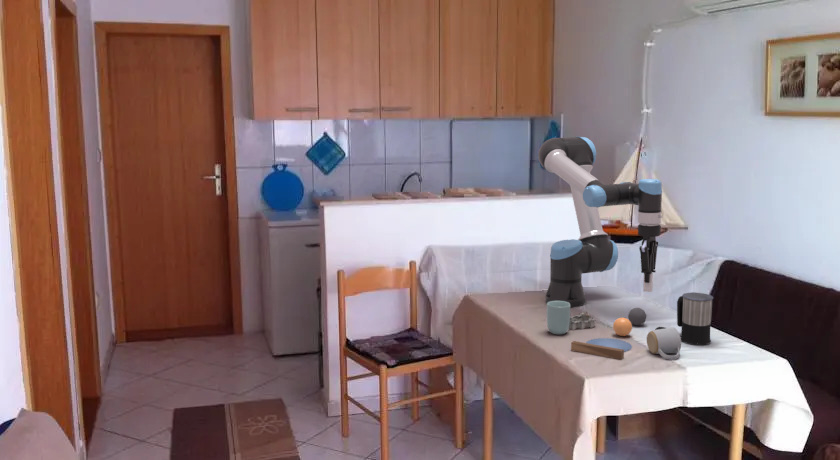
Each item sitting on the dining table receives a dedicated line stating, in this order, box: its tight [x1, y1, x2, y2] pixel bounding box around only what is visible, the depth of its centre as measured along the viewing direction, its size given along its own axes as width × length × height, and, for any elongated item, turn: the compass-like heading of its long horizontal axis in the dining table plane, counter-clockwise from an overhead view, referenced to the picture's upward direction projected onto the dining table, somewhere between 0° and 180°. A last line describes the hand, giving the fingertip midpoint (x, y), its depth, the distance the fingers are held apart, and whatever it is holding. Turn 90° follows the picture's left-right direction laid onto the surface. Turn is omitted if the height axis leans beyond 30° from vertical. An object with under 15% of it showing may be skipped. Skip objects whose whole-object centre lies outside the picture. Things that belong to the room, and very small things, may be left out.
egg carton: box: [568, 311, 597, 331], centre depth 262 cm, size 11×8×4 cm
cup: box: [546, 301, 572, 335], centre depth 254 cm, size 8×8×10 cm
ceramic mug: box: [646, 326, 682, 361], centre depth 231 cm, size 11×8×8 cm
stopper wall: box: [570, 340, 625, 360], centre depth 233 cm, size 2×16×2 cm, turn 55°
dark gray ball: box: [627, 307, 647, 326], centre depth 261 cm, size 6×6×6 cm
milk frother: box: [654, 291, 714, 346], centre depth 243 cm, size 14×16×15 cm
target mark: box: [585, 337, 633, 353], centre depth 241 cm, size 14×14×1 cm
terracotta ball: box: [612, 317, 633, 337], centre depth 250 cm, size 6×6×6 cm
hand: (647, 291), depth 267 cm, fingers closed
